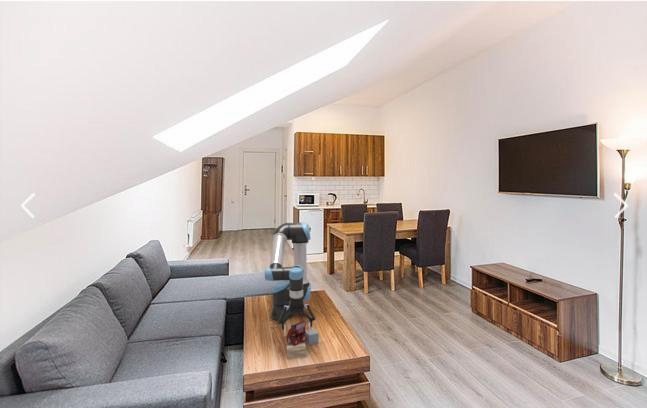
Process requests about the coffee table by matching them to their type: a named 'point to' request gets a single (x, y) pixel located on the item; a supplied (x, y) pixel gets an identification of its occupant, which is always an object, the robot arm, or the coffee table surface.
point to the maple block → (296, 350)
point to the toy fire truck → (297, 333)
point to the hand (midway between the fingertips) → (297, 333)
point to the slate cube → (312, 336)
